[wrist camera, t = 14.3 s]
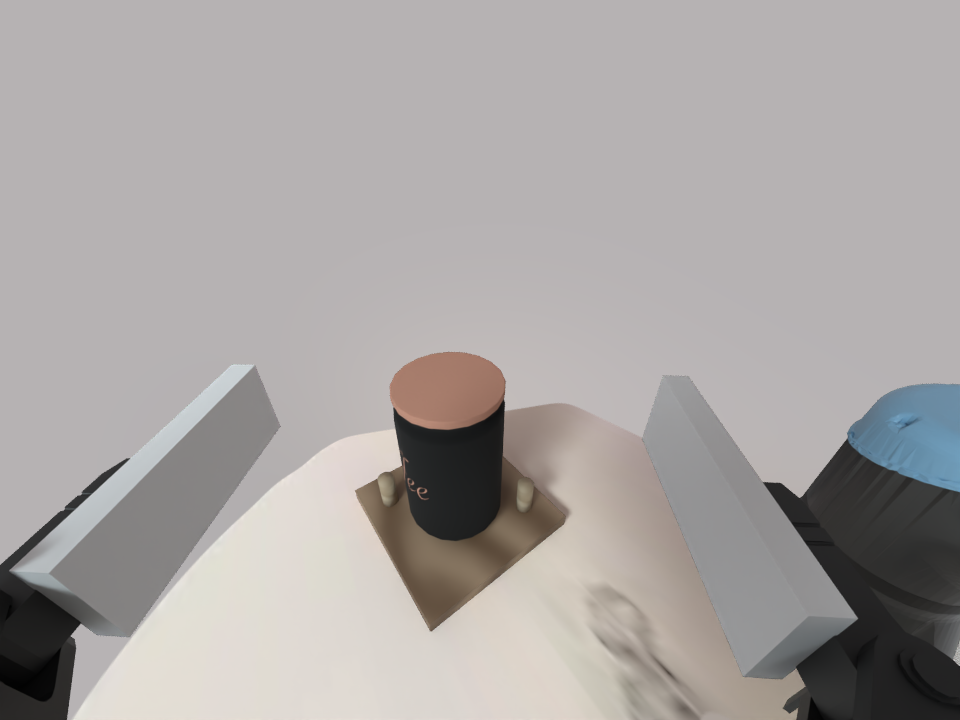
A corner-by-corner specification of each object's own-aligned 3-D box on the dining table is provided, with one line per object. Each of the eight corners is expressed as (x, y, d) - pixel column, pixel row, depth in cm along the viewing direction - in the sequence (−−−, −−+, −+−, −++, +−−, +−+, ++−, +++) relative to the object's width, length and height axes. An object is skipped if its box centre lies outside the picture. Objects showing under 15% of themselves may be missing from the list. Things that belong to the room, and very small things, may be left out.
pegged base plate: (473, 435, 55) (472, 407, 52) (564, 523, 43) (569, 494, 40) (357, 498, 46) (348, 468, 43) (430, 631, 34) (425, 604, 31)
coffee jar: (414, 470, 48) (396, 353, 38) (495, 465, 49) (499, 349, 39) (406, 550, 39) (380, 425, 29) (506, 543, 40) (514, 419, 30)
